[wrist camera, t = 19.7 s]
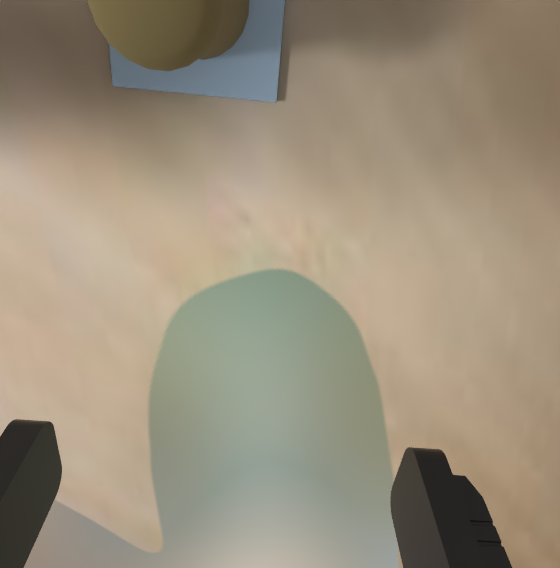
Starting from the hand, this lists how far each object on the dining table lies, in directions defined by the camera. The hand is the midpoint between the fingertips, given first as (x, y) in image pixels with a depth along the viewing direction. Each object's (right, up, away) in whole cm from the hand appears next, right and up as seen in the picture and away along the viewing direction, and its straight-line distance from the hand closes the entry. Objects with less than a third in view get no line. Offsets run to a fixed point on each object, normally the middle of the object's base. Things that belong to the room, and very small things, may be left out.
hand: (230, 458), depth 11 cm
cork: (-4, +20, +15) cm, 26 cm away
